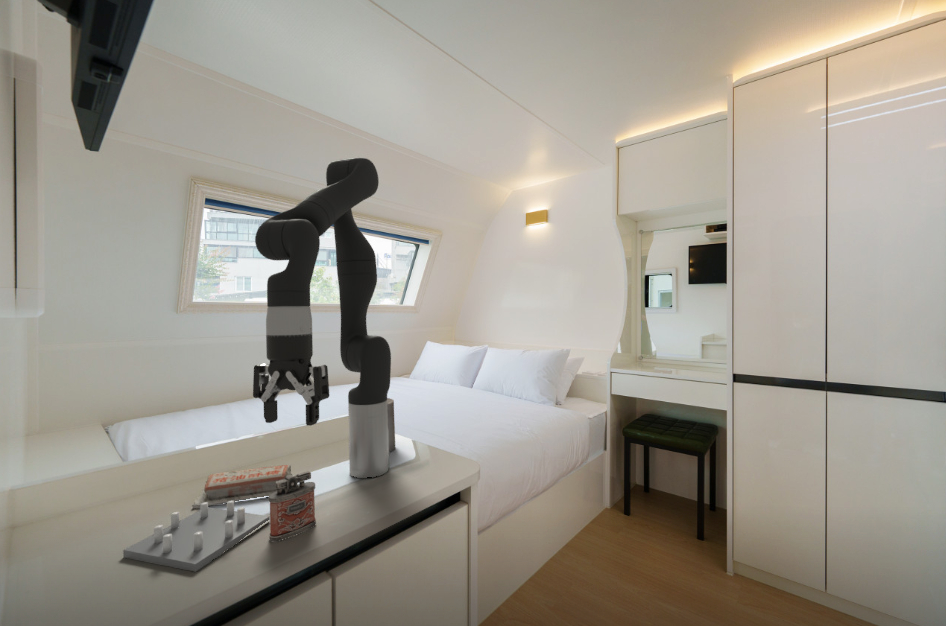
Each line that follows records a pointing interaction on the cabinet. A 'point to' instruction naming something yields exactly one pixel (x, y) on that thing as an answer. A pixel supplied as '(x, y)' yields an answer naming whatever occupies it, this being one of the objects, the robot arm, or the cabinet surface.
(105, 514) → the cabinet surface
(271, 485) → the packaged product
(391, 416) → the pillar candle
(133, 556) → the pin tray
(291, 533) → the lighter
